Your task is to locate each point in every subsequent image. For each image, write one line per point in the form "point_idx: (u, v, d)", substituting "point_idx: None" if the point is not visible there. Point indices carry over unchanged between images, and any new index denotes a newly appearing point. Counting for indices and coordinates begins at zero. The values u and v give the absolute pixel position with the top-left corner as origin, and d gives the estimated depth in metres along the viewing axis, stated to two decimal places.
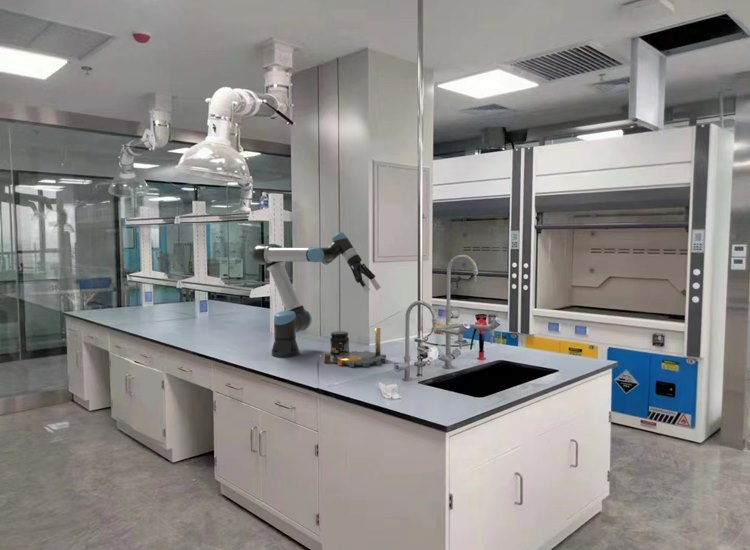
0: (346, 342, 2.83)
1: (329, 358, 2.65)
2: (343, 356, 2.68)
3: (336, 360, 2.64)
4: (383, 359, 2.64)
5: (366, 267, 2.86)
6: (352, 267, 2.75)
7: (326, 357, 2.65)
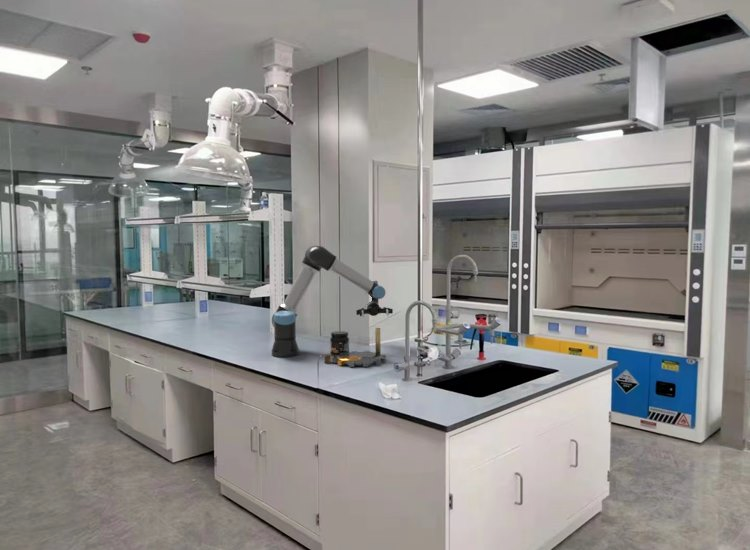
0: (346, 342, 2.83)
1: (329, 358, 2.65)
2: (343, 356, 2.68)
3: (336, 360, 2.64)
4: (383, 359, 2.64)
5: None
6: (385, 309, 2.98)
7: (326, 357, 2.65)
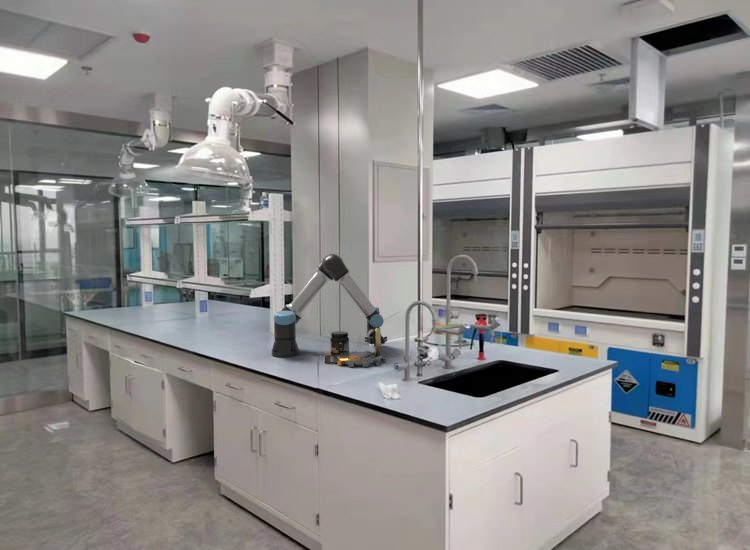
0: (346, 342, 2.83)
1: (329, 358, 2.65)
2: (343, 356, 2.68)
3: (336, 360, 2.64)
4: (383, 359, 2.64)
5: (368, 342, 2.88)
6: (386, 339, 2.90)
7: (326, 357, 2.65)
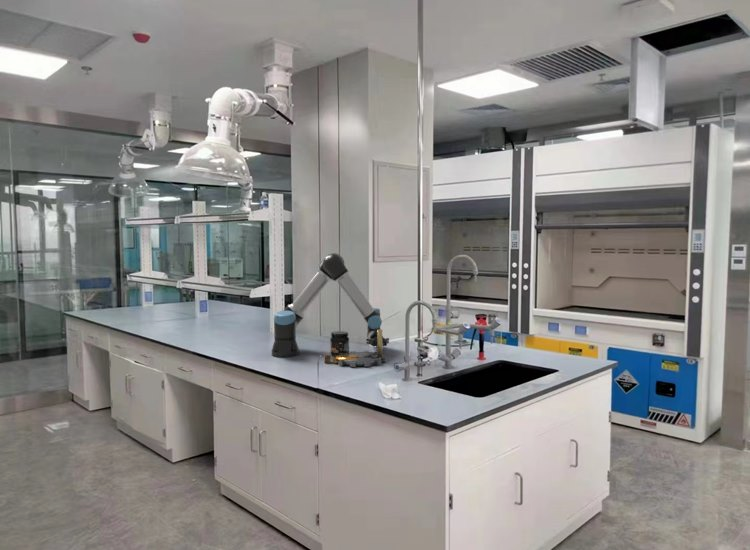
0: (346, 342, 2.83)
1: (329, 358, 2.65)
2: (345, 354, 2.72)
3: (335, 357, 2.70)
4: (376, 361, 2.59)
5: (370, 343, 2.83)
6: (388, 340, 2.85)
7: (326, 357, 2.65)
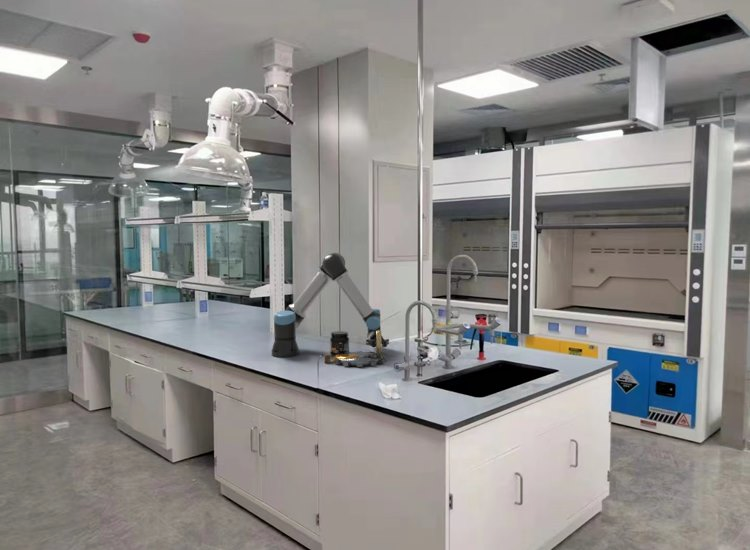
0: (346, 342, 2.83)
1: (329, 358, 2.65)
2: (348, 354, 2.74)
3: None
4: (370, 362, 2.57)
5: None
6: (388, 341, 2.82)
7: (326, 357, 2.65)
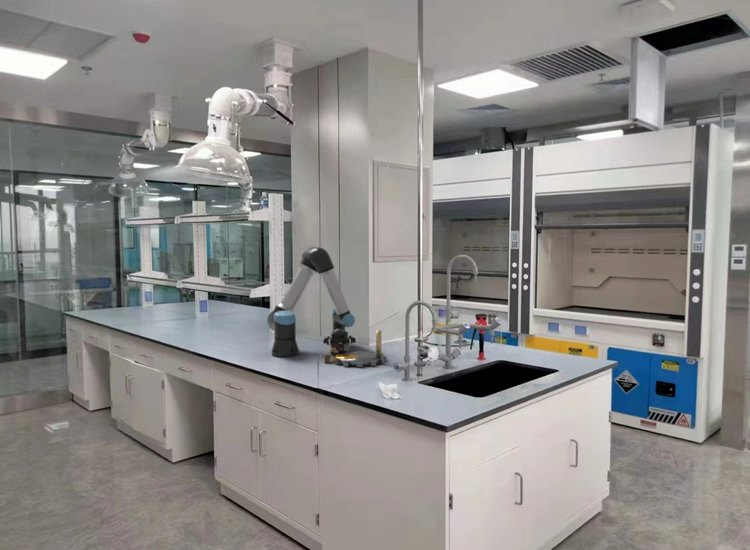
0: (346, 342, 2.83)
1: (329, 358, 2.65)
2: (348, 354, 2.74)
3: None
4: (370, 362, 2.57)
5: None
6: None
7: (326, 357, 2.65)
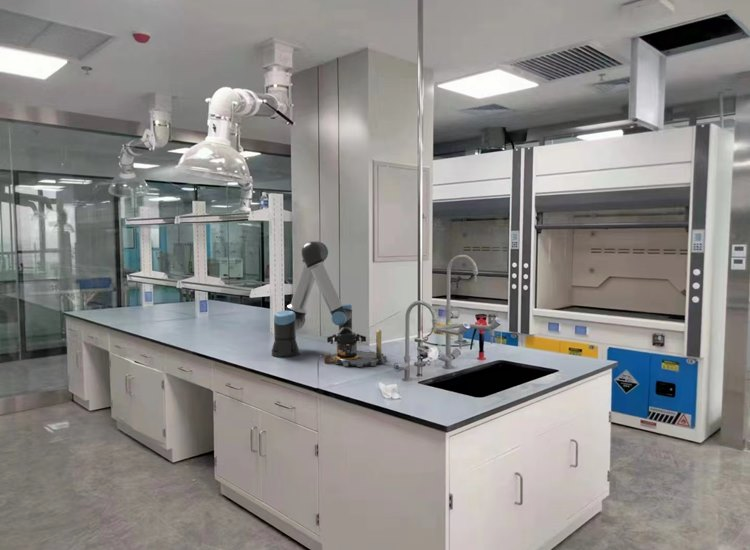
0: (354, 344, 2.64)
1: (329, 358, 2.65)
2: None
3: (337, 356, 2.73)
4: (370, 362, 2.57)
5: None
6: None
7: (326, 357, 2.65)
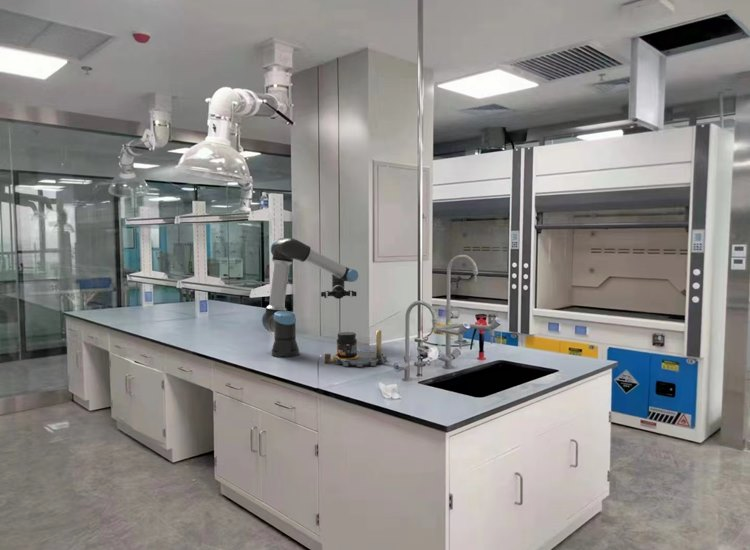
0: (354, 344, 2.64)
1: (329, 358, 2.65)
2: None
3: (337, 356, 2.73)
4: (370, 362, 2.57)
5: None
6: None
7: (326, 357, 2.65)
